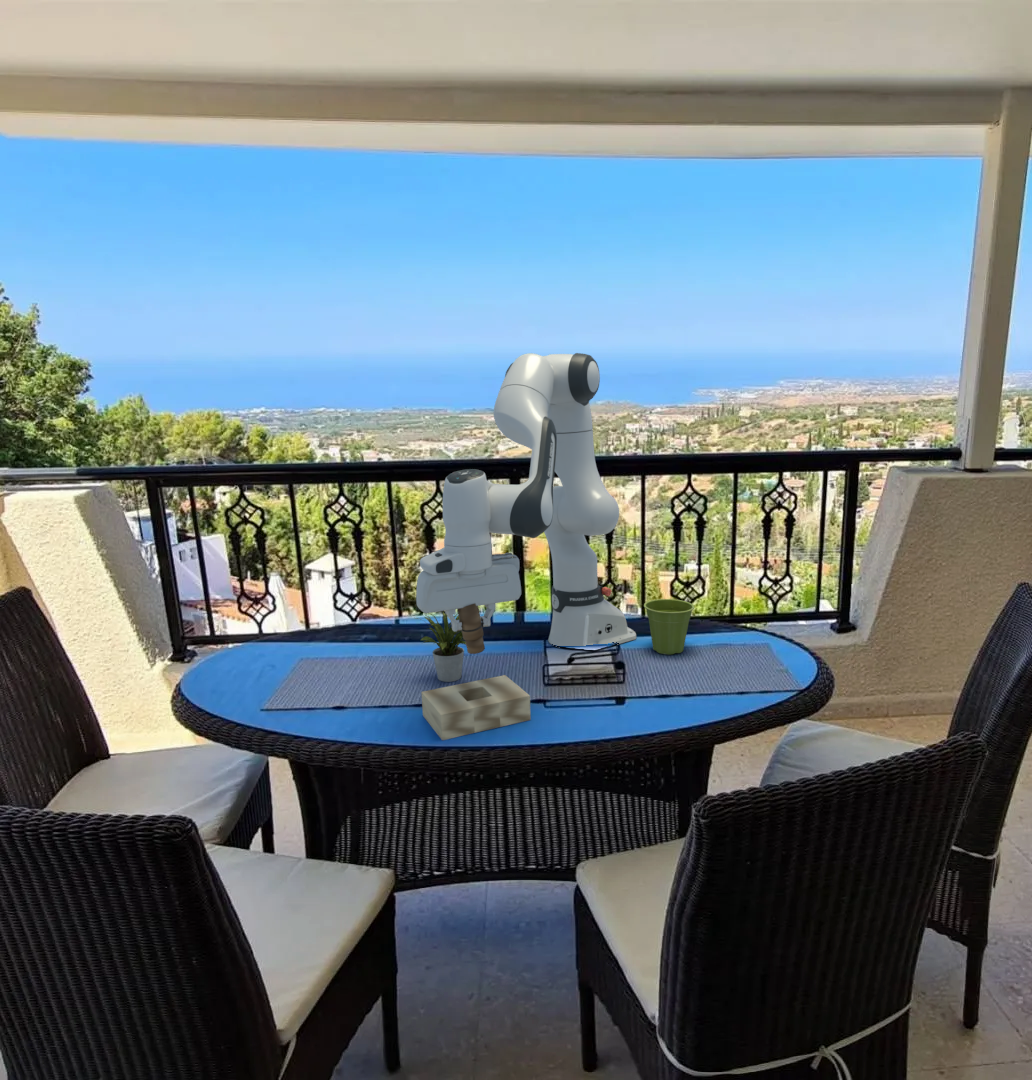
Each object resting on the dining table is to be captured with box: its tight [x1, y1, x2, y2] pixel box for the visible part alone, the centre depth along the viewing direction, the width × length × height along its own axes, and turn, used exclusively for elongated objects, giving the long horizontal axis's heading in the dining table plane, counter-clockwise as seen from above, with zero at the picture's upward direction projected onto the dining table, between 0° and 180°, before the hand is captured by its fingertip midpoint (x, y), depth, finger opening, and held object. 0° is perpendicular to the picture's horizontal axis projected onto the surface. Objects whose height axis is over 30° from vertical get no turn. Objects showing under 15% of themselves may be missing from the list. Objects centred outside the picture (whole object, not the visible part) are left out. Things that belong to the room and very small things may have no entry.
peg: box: [456, 603, 486, 655], centre depth 139 cm, size 4×4×10 cm
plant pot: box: [643, 598, 695, 656], centre depth 175 cm, size 12×12×11 cm
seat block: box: [421, 674, 531, 741], centre depth 142 cm, size 18×12×5 cm, turn 114°
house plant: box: [415, 611, 466, 683], centre depth 161 cm, size 14×14×16 cm
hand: (471, 628), depth 139 cm, fingers closed on peg, 4 cm apart
